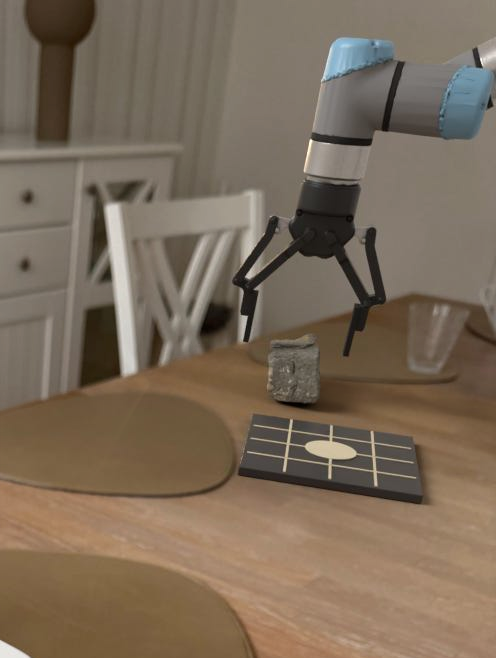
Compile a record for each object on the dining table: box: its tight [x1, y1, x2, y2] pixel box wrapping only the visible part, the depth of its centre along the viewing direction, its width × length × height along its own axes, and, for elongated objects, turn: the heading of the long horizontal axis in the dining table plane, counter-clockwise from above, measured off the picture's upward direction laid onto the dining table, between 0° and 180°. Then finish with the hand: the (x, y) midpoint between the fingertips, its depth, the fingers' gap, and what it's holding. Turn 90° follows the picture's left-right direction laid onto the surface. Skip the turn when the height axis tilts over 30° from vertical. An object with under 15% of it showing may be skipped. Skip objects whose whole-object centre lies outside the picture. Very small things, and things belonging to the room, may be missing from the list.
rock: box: [266, 333, 321, 404], centre depth 138 cm, size 17×7×10 cm
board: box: [237, 412, 424, 505], centre depth 117 cm, size 20×20×1 cm
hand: (295, 347), depth 136 cm, fingers open, 13 cm apart
